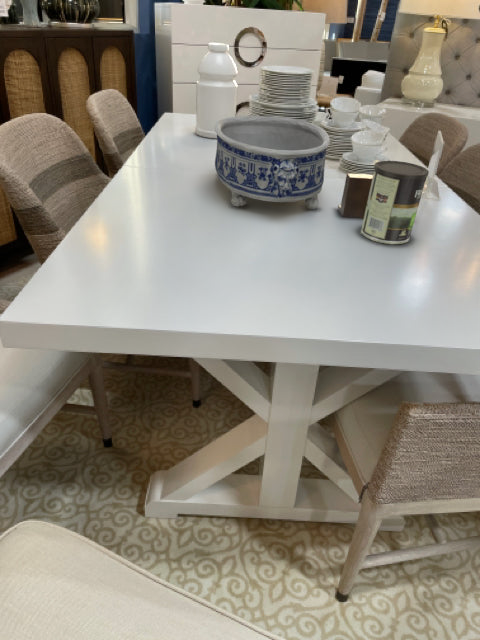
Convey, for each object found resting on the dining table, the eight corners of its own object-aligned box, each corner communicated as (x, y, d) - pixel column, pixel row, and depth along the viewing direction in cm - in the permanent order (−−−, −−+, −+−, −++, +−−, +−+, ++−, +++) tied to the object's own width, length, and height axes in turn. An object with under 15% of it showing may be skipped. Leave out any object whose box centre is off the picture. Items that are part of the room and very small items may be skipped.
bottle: (238, 133, 172) (244, 44, 157) (229, 141, 161) (234, 46, 146) (202, 128, 174) (203, 41, 159) (190, 136, 163) (191, 42, 148)
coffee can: (411, 231, 102) (430, 165, 95) (407, 248, 94) (427, 178, 86) (364, 221, 105) (378, 157, 97) (356, 238, 97) (371, 169, 89)
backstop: (403, 212, 112) (413, 174, 107) (410, 220, 108) (421, 181, 103) (337, 209, 111) (344, 170, 106) (342, 217, 107) (350, 177, 102)
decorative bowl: (342, 223, 103) (356, 153, 95) (222, 222, 99) (226, 149, 91) (296, 168, 138) (303, 113, 130) (205, 165, 134) (207, 108, 126)
